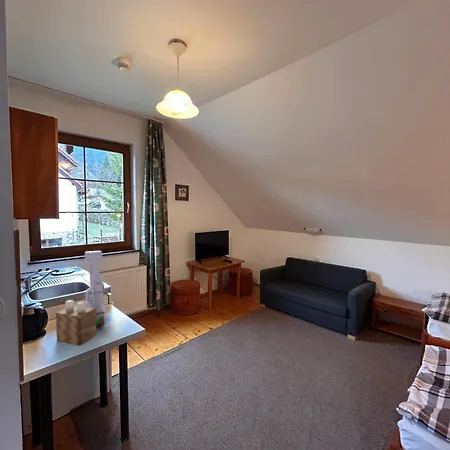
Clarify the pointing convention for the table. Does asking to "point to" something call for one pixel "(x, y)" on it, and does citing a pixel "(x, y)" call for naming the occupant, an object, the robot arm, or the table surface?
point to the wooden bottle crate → (76, 326)
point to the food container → (99, 320)
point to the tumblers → (79, 306)
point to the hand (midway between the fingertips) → (98, 324)
